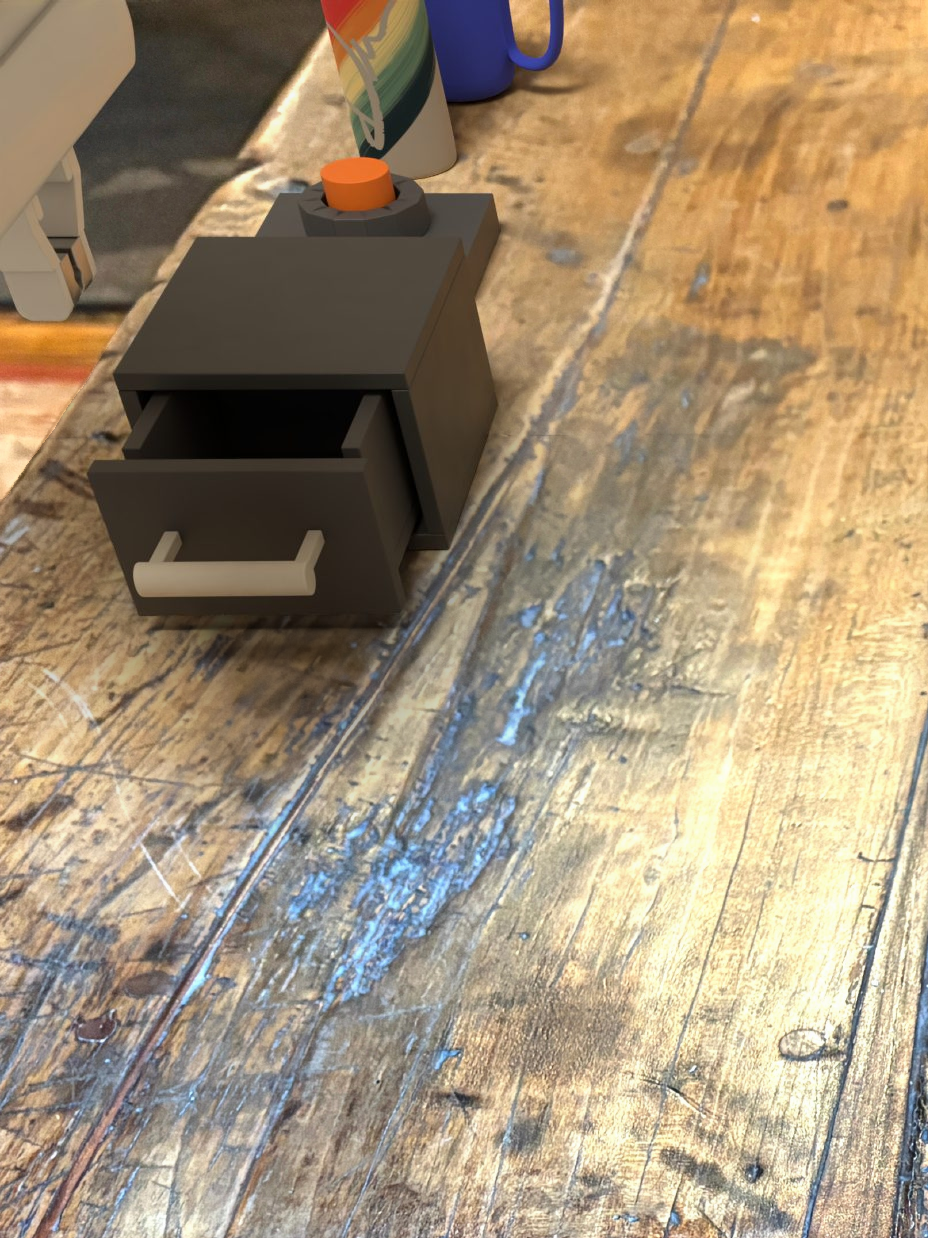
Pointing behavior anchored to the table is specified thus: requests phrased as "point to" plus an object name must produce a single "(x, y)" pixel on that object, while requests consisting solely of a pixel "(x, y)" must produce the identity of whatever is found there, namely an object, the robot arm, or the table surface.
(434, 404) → the cabinet
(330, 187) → the button
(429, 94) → the lotion bottle
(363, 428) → the drawer
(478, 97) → the mug
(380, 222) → the button block
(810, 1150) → the table surface
